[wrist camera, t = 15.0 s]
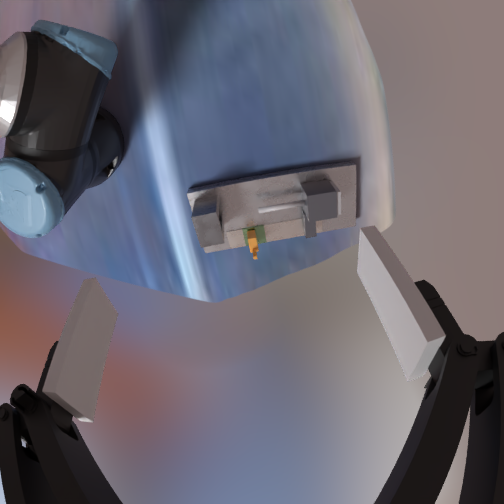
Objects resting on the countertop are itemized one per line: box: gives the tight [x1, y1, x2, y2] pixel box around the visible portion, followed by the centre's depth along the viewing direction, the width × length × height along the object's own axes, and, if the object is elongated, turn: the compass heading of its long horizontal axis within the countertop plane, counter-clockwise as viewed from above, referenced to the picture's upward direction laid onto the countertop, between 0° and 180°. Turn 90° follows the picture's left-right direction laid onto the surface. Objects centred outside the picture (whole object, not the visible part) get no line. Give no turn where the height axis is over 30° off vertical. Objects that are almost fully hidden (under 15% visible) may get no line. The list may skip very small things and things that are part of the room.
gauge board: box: [187, 161, 356, 253], centre depth 52 cm, size 30×13×8 cm, turn 99°
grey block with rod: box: [258, 179, 341, 238], centre depth 52 cm, size 14×10×5 cm
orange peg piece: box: [247, 230, 259, 259], centre depth 54 cm, size 2×3×5 cm, turn 10°
